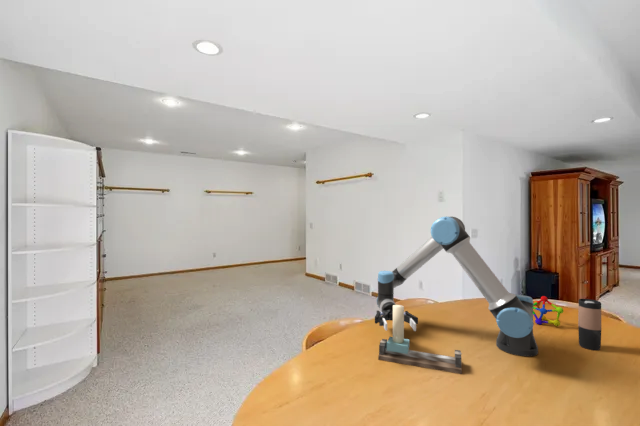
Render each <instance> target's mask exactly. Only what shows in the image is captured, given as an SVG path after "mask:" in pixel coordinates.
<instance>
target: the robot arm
mask: <svg viewBox="0 0 640 426" xmlns="http://www.w3.org/2000/svg"><path fill="white" fill-rule="evenodd" d="M430 234H431V237H430V238H428V239H427V241H425V242H424V243H423V244H422V245H421V246H419V247H418V248H417V249H416V250H415V251H414V252H413V253H412V254H411V255H409V256H408V257H407V258H406V259H405V260H404V261H402V263H400V264H399V265H398V266H397V267H395V268H394V269H393V270H392V271H390V270H380V271H378V273H377V274H378V275H377V298H376V305H377V307H378V308H379V310H376V314H375V315H374V324H375V325H376V324H379V326H380V327H382V326H383V329H384V330H385V331H388V322H387V321H393V305H397V304H396V303H395V300H394V298H395V297H394V295H395V294H394V292H395V291H394V290H395V288H397V287H398V286H401V285H402V284H404V282H405V281H406V280H407V279H409V278H410V277H411V276H412V275H413V274H414V273H416V272H417V271H418V270H419V269H421V268H422V267H423V266H424V265H425V264H426V263H428V262H429V261H430V260H432V258H434V257H435V256H436V255H438V253H440V252H441V251H443V249H444V251H445V252H446V253H448V254H449V253H450V254H452V256H453V258H455V260H456V261H457V263H458V264H459V265H460V266H461V268H462V269H463V270H464V272H465V273H466V274H467V276H468V277H469V278H470V279H471V281H472V282H473V284H474V285H475V287H476V288H477V289H478V290H479V292H480V293H481V294H482V296H483V298H484V299H485V300H486V301H487V302H488V310H489V312H490V313H491V314H492V316H493V318H494V319H495V322H496V325H497V327H498V328H499V332H498V334H497V338H496V341H495V342H496V343H495V344H496V345H495V346H496V347H497V348H498V349H499V350H501V351H503V352H505V353H508V354H510V355H515V356H521V357H534V356H537V355H538V354H539V347H538V344H537V341H536V338H535V336H534V315H533V311H534V309H533V307H534V306H533V305H534V300H533V298H532V297H531V296H528V295H524V294H517V293H512V292H509V291H508V290H507V288H506V287H505V286H504V285H503V283H502V282H501V281H500V279H499V278H498V277H497V276H496V274H495V273H494V272H493V271H492V269H491V268H490V267H489V265H488V264H487V263H486V262H485V260H484V259H483V258H482V257H481V255H480V254H479V252H478V251H477V250H476V248H474V246H473V245H472V244H471V241H470V240H471V236H470V234H469V233H468V232H467V231H466V226H465V224H464V222H463V220H461V219H459V218H458V217H456V216H440V217H439V218H437V219H436V220H434V222H433V223H432V224H431V228H430ZM404 323H407V324H409V326H410V327H411V328H412V330H413V332H416V331H417V325H419V318H418V317H417V316H416V315H414V314H412V313H410V312H409V311H408V310H404Z"/></svg>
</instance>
